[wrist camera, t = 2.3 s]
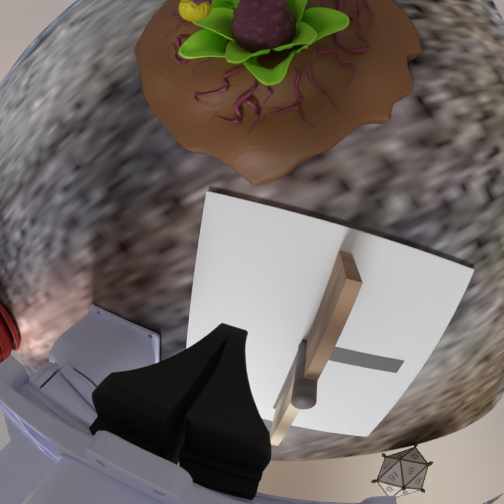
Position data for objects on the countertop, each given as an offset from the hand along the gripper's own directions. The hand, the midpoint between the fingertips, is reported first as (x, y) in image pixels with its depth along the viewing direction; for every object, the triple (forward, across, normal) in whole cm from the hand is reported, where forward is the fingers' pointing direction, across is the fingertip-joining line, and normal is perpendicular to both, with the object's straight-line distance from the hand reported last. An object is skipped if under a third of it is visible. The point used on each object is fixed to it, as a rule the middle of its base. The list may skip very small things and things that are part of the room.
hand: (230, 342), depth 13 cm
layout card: (+9, -6, +6) cm, 13 cm away
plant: (+10, +3, -17) cm, 20 cm away
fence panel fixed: (+9, -5, +10) cm, 15 cm away
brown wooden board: (+9, -5, +1) cm, 10 cm away
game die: (+10, -26, +22) cm, 35 cm away
